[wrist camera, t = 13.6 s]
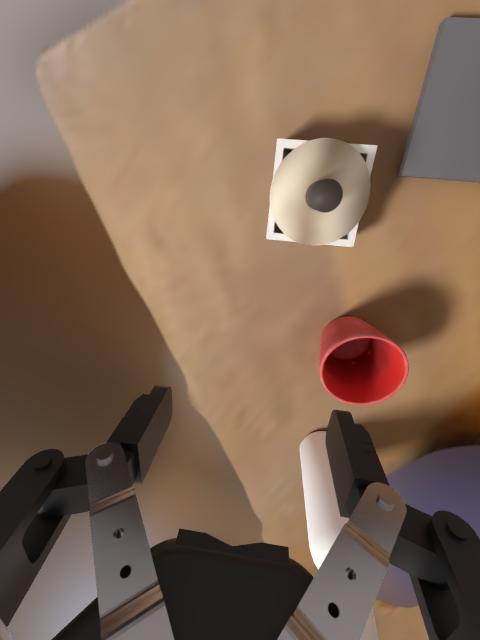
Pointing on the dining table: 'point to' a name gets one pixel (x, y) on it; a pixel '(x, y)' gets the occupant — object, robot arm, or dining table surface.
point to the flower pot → (360, 362)
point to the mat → (448, 108)
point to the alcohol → (323, 507)
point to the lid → (320, 191)
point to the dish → (281, 152)
